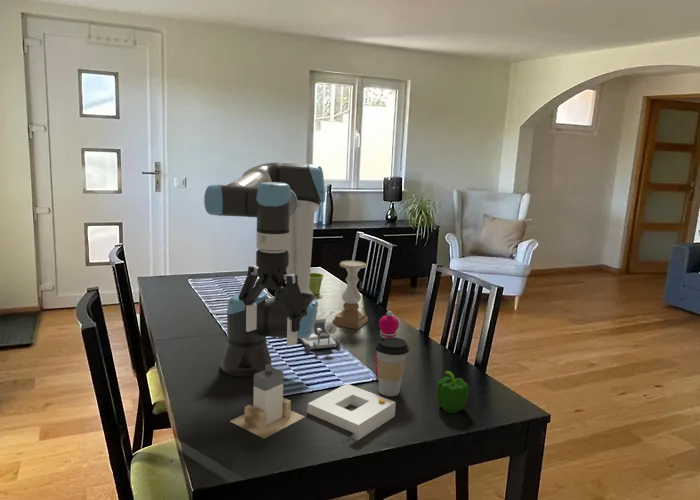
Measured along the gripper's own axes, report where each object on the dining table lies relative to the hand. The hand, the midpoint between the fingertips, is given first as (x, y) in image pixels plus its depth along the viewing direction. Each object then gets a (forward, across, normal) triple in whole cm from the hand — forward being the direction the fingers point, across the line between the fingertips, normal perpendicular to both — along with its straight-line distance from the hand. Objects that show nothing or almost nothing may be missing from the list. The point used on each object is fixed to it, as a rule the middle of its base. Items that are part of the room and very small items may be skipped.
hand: (271, 337), depth 133 cm
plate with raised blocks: (+23, 0, 0) cm, 23 cm away
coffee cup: (+23, +12, +36) cm, 44 cm away
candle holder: (+23, -32, +76) cm, 86 cm away
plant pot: (+23, -70, +98) cm, 122 cm away
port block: (+23, +13, +16) cm, 31 cm away
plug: (+21, 0, 0) cm, 21 cm away
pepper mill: (+23, +4, +46) cm, 51 cm away
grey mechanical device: (+23, -27, +50) cm, 62 cm away
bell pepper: (+23, +30, +38) cm, 54 cm away
